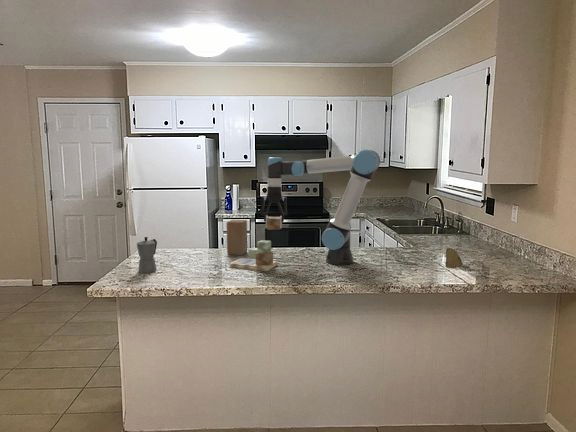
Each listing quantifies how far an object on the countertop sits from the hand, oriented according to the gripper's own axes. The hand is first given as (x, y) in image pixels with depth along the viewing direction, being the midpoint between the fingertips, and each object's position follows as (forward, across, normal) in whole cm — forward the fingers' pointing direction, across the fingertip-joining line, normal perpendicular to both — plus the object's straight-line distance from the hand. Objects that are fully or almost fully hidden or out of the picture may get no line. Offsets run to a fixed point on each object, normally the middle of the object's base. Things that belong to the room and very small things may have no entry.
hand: (273, 227), depth 243 cm
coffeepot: (+21, +63, +20) cm, 69 cm away
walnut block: (0, 0, 0) cm, 0 cm away
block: (+21, +24, -21) cm, 38 cm away
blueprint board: (+20, +10, +8) cm, 24 cm away
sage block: (+20, +11, -8) cm, 24 cm away
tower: (+18, +4, +10) cm, 21 cm away
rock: (+18, -98, +1) cm, 99 cm away
